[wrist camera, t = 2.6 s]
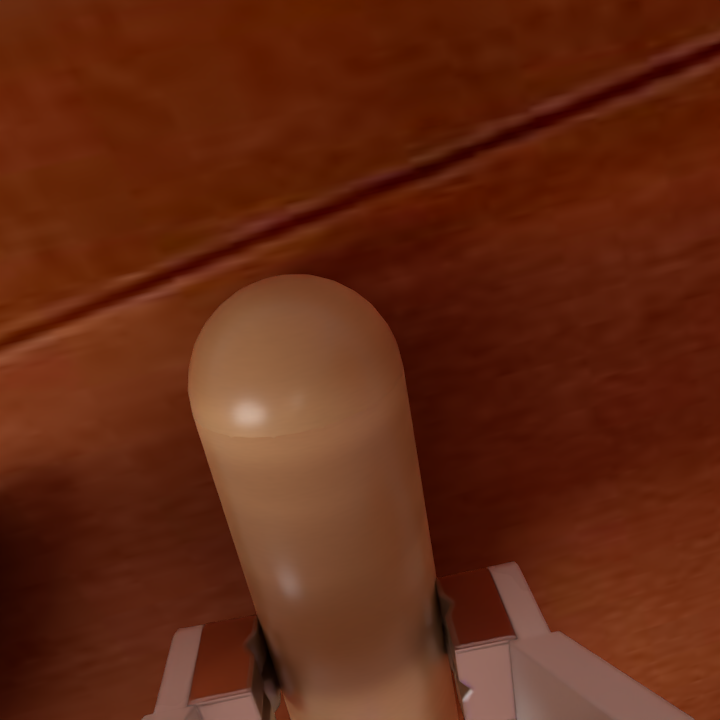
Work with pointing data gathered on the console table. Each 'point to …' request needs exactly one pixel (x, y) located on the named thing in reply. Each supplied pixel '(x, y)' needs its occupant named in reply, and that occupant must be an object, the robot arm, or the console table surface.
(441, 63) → the console table surface
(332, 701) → the stick
